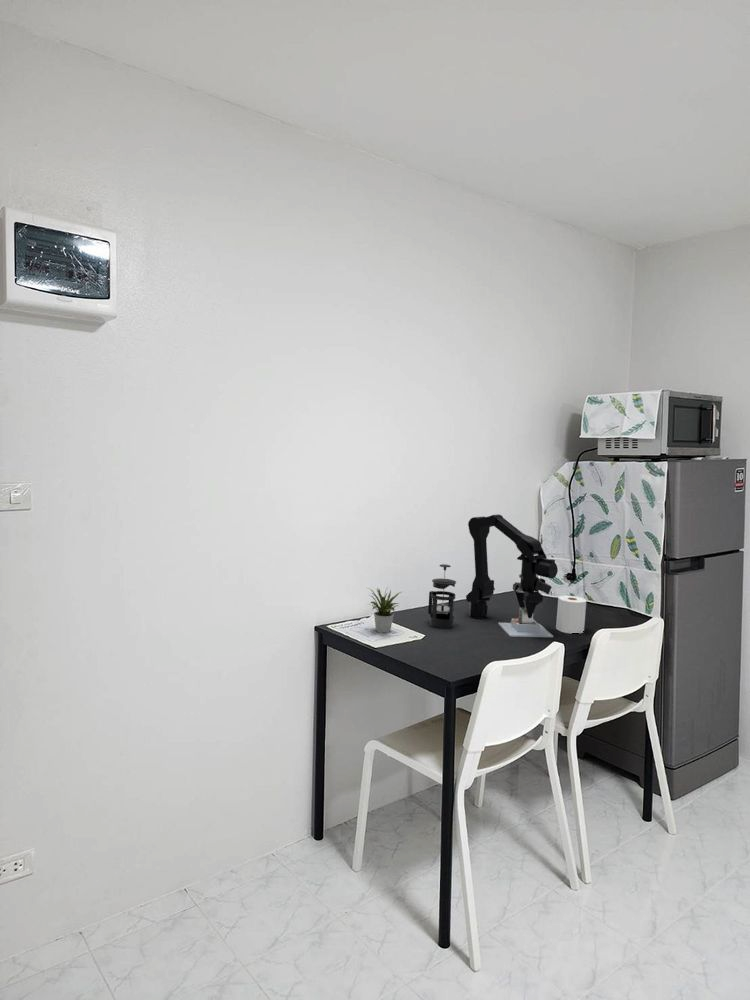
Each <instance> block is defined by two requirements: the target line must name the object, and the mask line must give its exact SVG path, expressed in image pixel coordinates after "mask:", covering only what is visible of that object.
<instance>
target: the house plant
mask: <svg viewBox="0 0 750 1000" xmlns="http://www.w3.org/2000/svg"><path fill="white" fill-rule="evenodd" d="M367 589H369V590H370V591H371V594H372V595H373V596H372V595H370V594H369V596H370V597H371V598H372V599H373V600H374V601H370V602H369V604H367V605H370V606H372V609H371V610H372V611H373V610H374V609H375V610H376V611H375V612H374V613H373V615H374V624H375V631H376V630H377V631H379V632H378V633H380V632H388V633H390V632H391V629H392V624H393V619H394V616H395V614H394V612H395V608H396V607H399V605H398V604H400V603H398V602H393V601H394V599H395V598H396V597H398V595H399V594H401V593H403V591H399V592H398V593H396V594H395V595H394V596H391V593H392V590H389V593H387V589H388V586H387V587H386V589H385V591H384V596H383V595H382V594H381V593H382V592H381V590H380V588H376V592H377V594H378V596H377V595H376V593H375V591H374V590H372V589H371V588H368V587H367ZM387 594H388V595H387ZM386 598H387V599H386ZM391 611H392V612H391ZM377 631H376V632H377ZM389 631H390V632H389Z"/></svg>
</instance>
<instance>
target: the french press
mask: <svg viewBox="0 0 750 1000" xmlns="http://www.w3.org/2000/svg"><path fill="white" fill-rule="evenodd" d="M439 567H441V568H443V571H444V572H443V578H433V579H432V587H433V588H435V589H440V590H437V591H436V590H435V591H434V590H431V591H430V590H429V591H428V593H429V594H428V605H427V606H428V609H427V611H428V612H427V613H428V615H429V624H428V625H429V626H430V627H432V628H435V629H441V630H442V629H443V630H447V629H452V628H454V627H455V624H454V623H455V621H454V620H455V617H454V610H455V609H454V601H455V600H456V594H455V593H453V592H450V591H445V589H447V588H449V586H450V587H453V588H455V586H456V584H457V581H456V580H454V579H449V578H446V571H447V568H450V567H451V565H449V564H446V563H445V564H444V563H443V564H439ZM439 595H441V596H439ZM438 600H439V601H442V603H441V604H442V605H438ZM444 601H448V605H444Z"/></svg>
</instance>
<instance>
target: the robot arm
mask: <svg viewBox="0 0 750 1000" xmlns="http://www.w3.org/2000/svg"><path fill="white" fill-rule="evenodd" d="M467 525H468V531H469V534H470V537H471V538H472V539H473V551H474V553H473V554H474V569H475V572H474V573H475V576H474V579H473V581H472V585H471V591H470V592H469V593H467V594H466V595H465V598H466V602H469V603H468V612H467V615H468V616H469V617H470V619H487V618H488V617H487V616H488V609H489V608H488V607H489V605H488V604H487V602H489V601H490V600H491V598H492V596H493V595H494V592H495V590H496V589H495V579H491V577H490V576H489V566H488V563H489V562H488V546H487V538H488V536H489V535H490V528H491V527H494V528H496V529H497V530H498V531H500V532H501V534H503V535H505V536H506V537H507V538H509V540H511V541H512V542H513V543H514V544H515V547H516V548H517V550H518V551H519V552H520V553H521V554H520V555H519V556H518V557H517V558H516V560H518V561H521V571H520V574H519V575H518V576H519V578H520V582H517V581H516V582H514V583H513V584H512V590H513V593H514V595H515V598H516V602H517V603H518V607H519V608H520V607H525V608H526V612H527V616H528V618H531V617H532V615H533V616H534V612H535V609H536V607H537V606H538V605H539V604H541V603H543V602H544V595H543V594H542V593H541V592H543V593H545V595H549V594H550V592H551V590H552V589H553V587H552V585H550V584H548V583H547V582H546V579H544V578H547V579H555V578H556V577H557V575H558V570H559V569H558V565H557V563H556V559H553V558H552V559H551V558H548V556H547V555H546V553H545V551H544V548H543V547H542V543H541V541H540V540H538V538H537V539H536V538H535V537H533V536H530V535H527V534H525V533H523V532H522V531H521V530H520V529H518V528H517V527H515V526H514V525H513V524H512V523H510V522H509V521H508V520H507V519H506V518H504V517H503V515H502V514H491V515H488V516H475V517H473V516H472V517H470V519H469V520H468V523H467ZM538 576H540V578H539V577H538ZM541 577H544V578H541ZM539 591H540V592H539Z"/></svg>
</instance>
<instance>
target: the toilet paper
mask: <svg viewBox="0 0 750 1000" xmlns="http://www.w3.org/2000/svg"><path fill="white" fill-rule="evenodd" d="M586 611H587V599H585V598H584V597H580V596H575V595H560V596H558V600H557V610H556V612H557V613H556V622H555V624H556V625H555V629H556V630H558V631H559V632H561V633H565V634H572V633H579V634H583V633H584V632H585V623H586ZM583 631H584V632H583Z"/></svg>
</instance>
